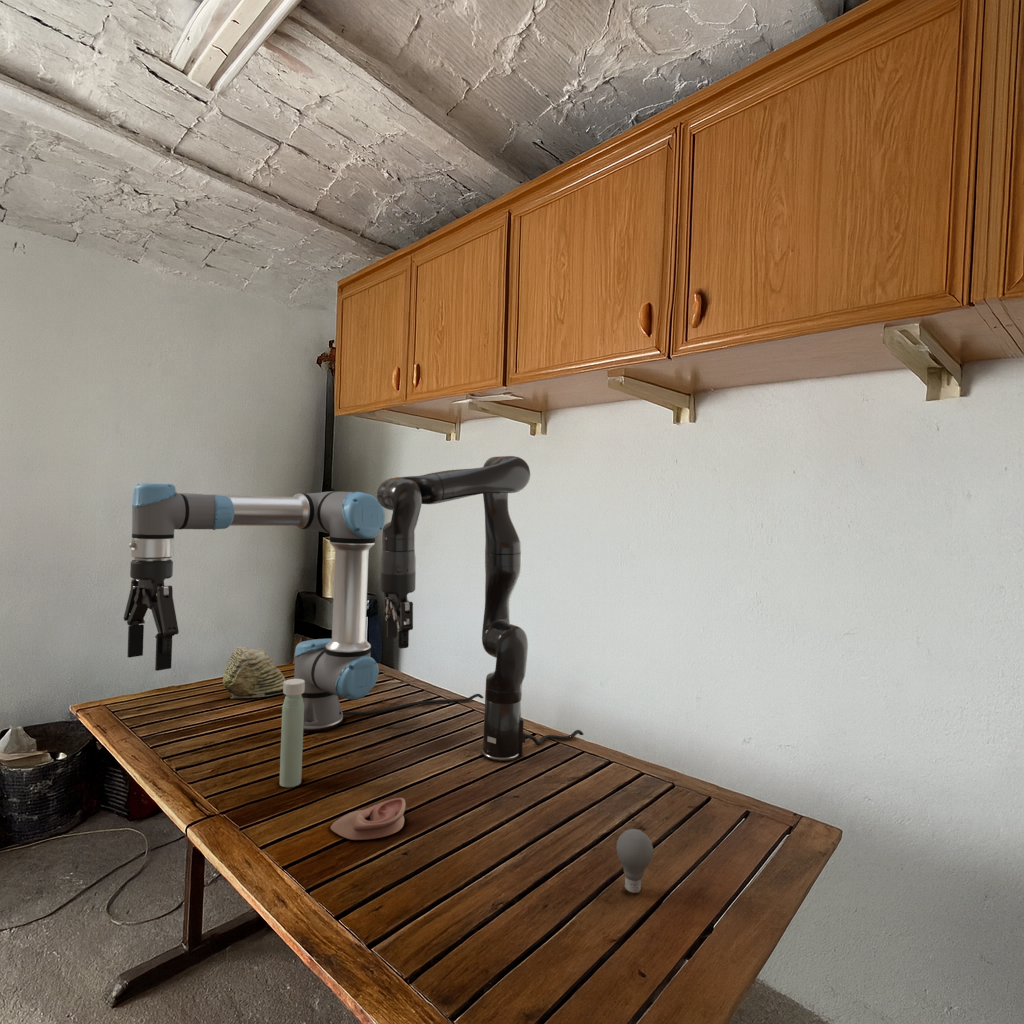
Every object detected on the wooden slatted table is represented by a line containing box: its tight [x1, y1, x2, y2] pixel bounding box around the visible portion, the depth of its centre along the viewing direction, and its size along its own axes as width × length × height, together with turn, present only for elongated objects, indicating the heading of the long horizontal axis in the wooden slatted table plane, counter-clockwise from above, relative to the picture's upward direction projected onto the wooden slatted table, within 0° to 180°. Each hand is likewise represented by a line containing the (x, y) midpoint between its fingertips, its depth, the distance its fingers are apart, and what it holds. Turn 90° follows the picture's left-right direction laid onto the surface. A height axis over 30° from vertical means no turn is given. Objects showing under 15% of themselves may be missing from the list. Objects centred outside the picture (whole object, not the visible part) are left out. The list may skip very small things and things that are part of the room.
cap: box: [282, 678, 305, 696], centre depth 139 cm, size 4×4×2 cm
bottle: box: [278, 694, 304, 788], centre depth 139 cm, size 5×5×22 cm
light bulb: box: [615, 828, 654, 894], centre depth 106 cm, size 6×6×10 cm
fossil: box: [222, 646, 286, 699], centre depth 198 cm, size 9×18×15 cm, turn 132°
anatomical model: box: [330, 797, 407, 841], centre depth 123 cm, size 13×4×12 cm
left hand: (148, 662), depth 129 cm, fingers open, 13 cm apart
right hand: (397, 642), depth 140 cm, fingers open, 8 cm apart
